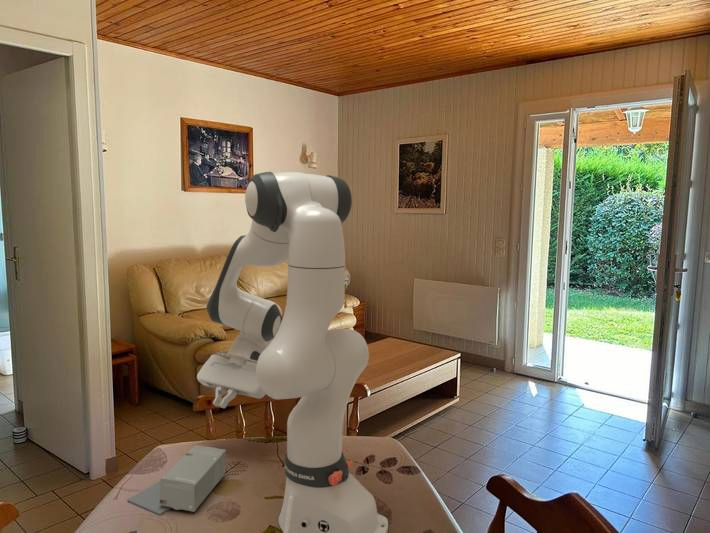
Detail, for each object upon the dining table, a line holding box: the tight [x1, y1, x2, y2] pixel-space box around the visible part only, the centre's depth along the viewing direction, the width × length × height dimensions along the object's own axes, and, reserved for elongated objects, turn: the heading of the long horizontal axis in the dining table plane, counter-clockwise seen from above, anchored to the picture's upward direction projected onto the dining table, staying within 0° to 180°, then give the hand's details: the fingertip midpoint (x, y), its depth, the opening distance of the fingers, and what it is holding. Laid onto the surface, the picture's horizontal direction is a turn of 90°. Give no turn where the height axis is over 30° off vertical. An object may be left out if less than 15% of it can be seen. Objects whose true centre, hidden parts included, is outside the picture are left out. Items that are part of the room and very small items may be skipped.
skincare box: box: [159, 445, 227, 513], centre depth 117 cm, size 8×7×16 cm
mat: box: [126, 480, 173, 516], centre depth 117 cm, size 10×15×1 cm, turn 151°
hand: (218, 406), depth 129 cm, fingers closed
